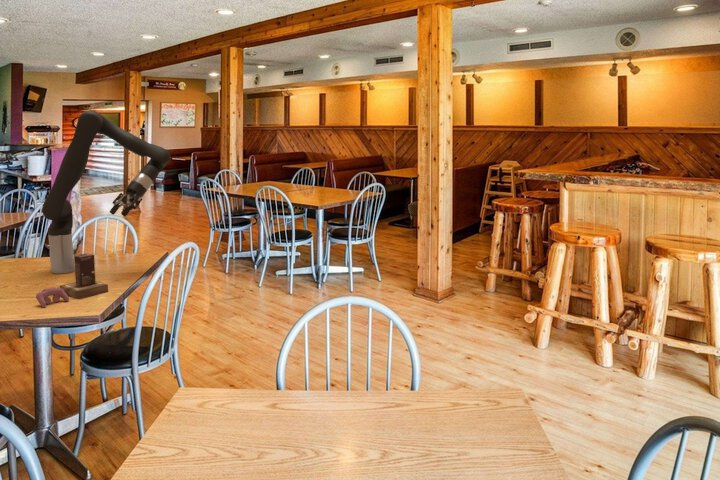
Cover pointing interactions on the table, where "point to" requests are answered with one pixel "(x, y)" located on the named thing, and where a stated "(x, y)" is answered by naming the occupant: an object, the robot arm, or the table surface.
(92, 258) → the box
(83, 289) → the base board
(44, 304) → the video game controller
